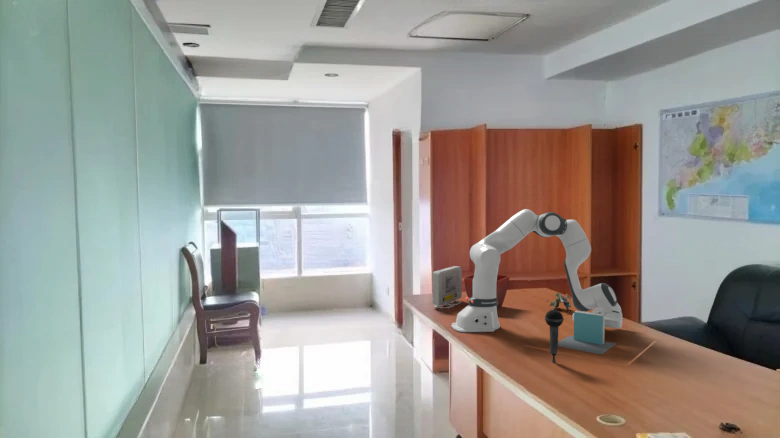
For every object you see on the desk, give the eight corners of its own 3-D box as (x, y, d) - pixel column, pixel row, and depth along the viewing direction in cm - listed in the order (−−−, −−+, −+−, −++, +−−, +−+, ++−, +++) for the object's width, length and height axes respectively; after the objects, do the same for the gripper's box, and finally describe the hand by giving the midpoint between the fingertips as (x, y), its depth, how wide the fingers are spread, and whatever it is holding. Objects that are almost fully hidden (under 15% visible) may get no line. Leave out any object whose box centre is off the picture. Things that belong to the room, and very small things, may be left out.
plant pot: (510, 306, 303) (510, 275, 302) (497, 313, 287) (497, 281, 286) (477, 302, 313) (477, 272, 312) (463, 309, 297) (463, 278, 296)
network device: (452, 299, 321) (452, 265, 319) (466, 301, 316) (466, 266, 314) (429, 308, 300) (428, 271, 299) (443, 310, 295) (443, 273, 294)
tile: (575, 338, 238) (576, 310, 238) (604, 343, 231) (604, 315, 230) (573, 339, 237) (574, 311, 236) (602, 344, 229) (602, 316, 228)
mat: (569, 336, 243) (569, 335, 243) (616, 344, 231) (616, 343, 231) (552, 346, 230) (552, 345, 229) (601, 355, 217) (601, 354, 217)
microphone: (560, 366, 205) (561, 313, 204) (542, 363, 209) (542, 310, 208) (565, 361, 211) (565, 309, 210) (547, 358, 215) (547, 307, 213)
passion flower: (567, 320, 292) (577, 305, 284) (547, 317, 290) (557, 302, 283) (561, 304, 300) (571, 289, 293) (542, 301, 299) (551, 286, 292)
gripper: (579, 306, 252) (567, 312, 241) (626, 313, 239) (615, 319, 228) (578, 320, 252) (566, 326, 242) (625, 327, 239) (615, 334, 229)
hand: (590, 323), depth 235 cm, fingers closed
